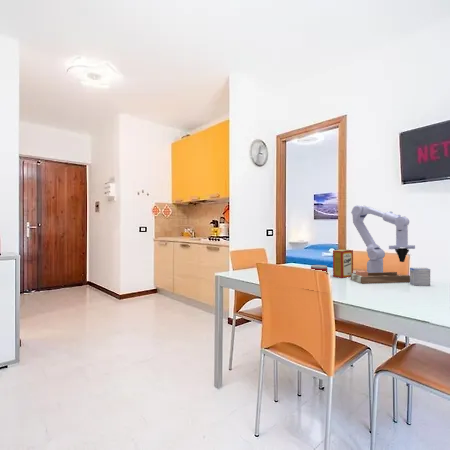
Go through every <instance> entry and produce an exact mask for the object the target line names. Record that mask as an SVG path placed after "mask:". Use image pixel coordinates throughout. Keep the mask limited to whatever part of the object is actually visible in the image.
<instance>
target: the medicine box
mask: <svg viewBox="0 0 450 450" xmlns="http://www.w3.org/2000/svg"><path fill="white" fill-rule="evenodd" d="M409 275H410V282H409V284H410V285H411V286H413V285H414V286H413V287H417V286H418V287H419V286H420V287H421V286H422V287H424V286H426V287H427V286H429V287H431V269H430V268H429V267H410V268H409Z"/></svg>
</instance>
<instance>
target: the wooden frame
mask: <svg viewBox="0 0 450 450" xmlns="http://www.w3.org/2000/svg"><path fill="white" fill-rule="evenodd" d="M350 280H351V281H353V280H354V282H356V283H359V284H364V285H365V284H369V285H370V284H393V283H394V284H395V283H397V284H399V283H410V274H409V275H408V274H406V275H399V274H398V271H387V272H386V271H385V272H384V271H383V272H378V273H368V277H362V276H359V275H356V272H353V273H351V277H350Z"/></svg>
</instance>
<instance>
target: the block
mask: <svg viewBox="0 0 450 450" xmlns="http://www.w3.org/2000/svg"><path fill="white" fill-rule="evenodd" d="M355 273H356V275H359V276H362V277H368V272H367V270H355Z"/></svg>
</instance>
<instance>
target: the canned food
mask: <svg viewBox="0 0 450 450" xmlns="http://www.w3.org/2000/svg"><path fill="white" fill-rule="evenodd" d="M311 269H315V270H322V271H326V272H327V273H328V266H327V265H323V264H312V265H310V270H311Z"/></svg>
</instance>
